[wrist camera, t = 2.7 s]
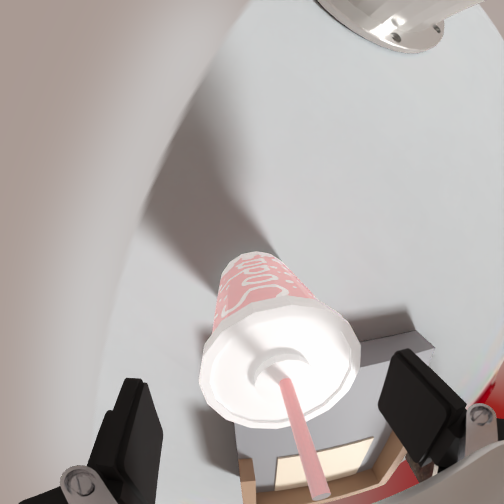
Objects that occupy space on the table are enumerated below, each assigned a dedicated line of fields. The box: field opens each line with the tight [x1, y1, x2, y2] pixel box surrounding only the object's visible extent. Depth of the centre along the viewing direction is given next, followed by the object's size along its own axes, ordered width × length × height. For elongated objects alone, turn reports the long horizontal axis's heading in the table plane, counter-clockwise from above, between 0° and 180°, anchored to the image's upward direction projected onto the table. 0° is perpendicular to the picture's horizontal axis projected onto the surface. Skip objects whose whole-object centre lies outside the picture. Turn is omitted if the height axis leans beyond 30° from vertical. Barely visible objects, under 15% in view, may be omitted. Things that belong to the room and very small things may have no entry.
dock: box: [234, 330, 435, 504], centre depth 20 cm, size 19×16×6 cm
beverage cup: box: [199, 251, 361, 501], centre depth 11 cm, size 6×6×14 cm
